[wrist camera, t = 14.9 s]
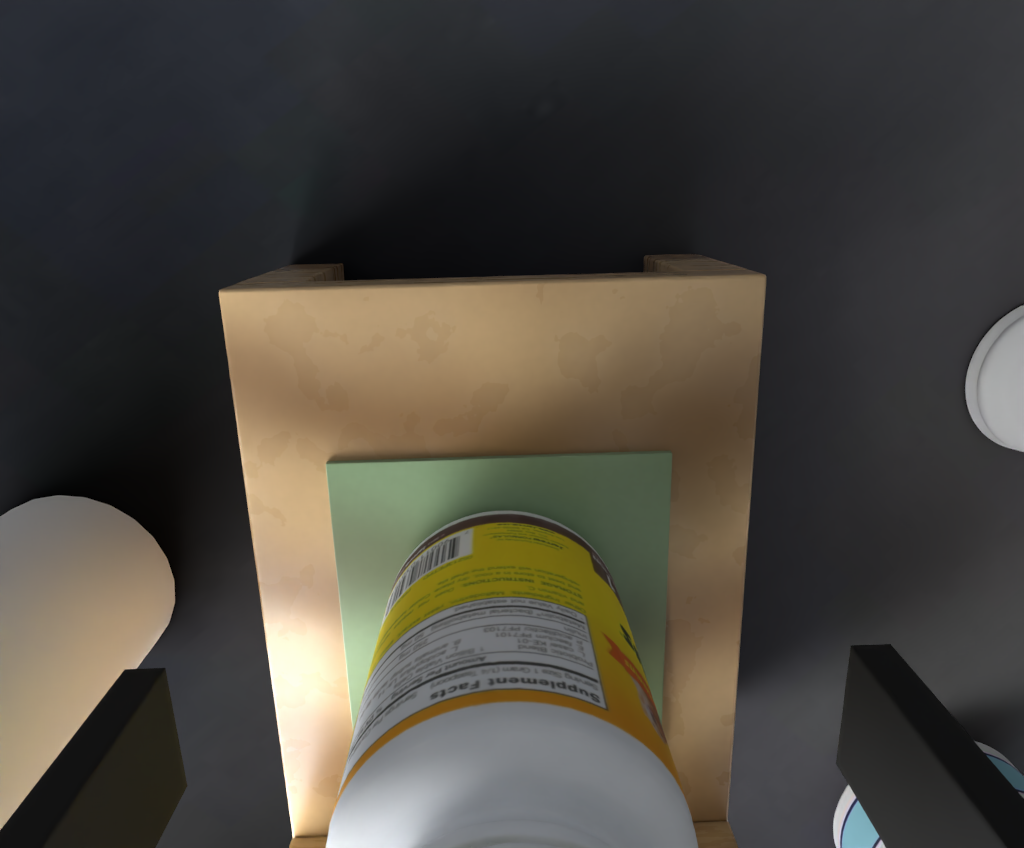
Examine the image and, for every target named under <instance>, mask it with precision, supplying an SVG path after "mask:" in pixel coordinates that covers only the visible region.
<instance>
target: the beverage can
mask: <svg viewBox="0 0 1024 848" xmlns="http://www.w3.org/2000/svg"><path fill="white" fill-rule="evenodd" d="M974 742H975V743H976V744H977V745H978V746H979V747H980V749H981V750H982V751H983V752H984V753H985V754H986V755H987V757H988V758H989V759H990V760H991V761H992V762H993V764H994V765H995V766H996V767H997V768H998V769H999V771H1000V772H1001V773H1002V774H1003V775H1004V776H1005V777H1006V779H1007V780H1008V781H1009V782H1010V783H1011V784H1012V786H1013V787H1014V788H1015V789H1016V790H1017V791H1018V792H1019V794H1020V795H1021V796H1022V797H1023V798H1024V776H1023V775H1022V774H1021V773H1020V772H1019V771H1018V770H1017V769H1016V768H1015V767H1014V765H1013V764H1012V763H1011V762H1010V761H1009V760H1008V759H1007V758H1006V757H1005V756H1003V755H1002V754H1001V753H999V752H998V751H996V750H995V749H993V748H991V747H989V746H987V745H985V744H982V743H979V742H977V741H974ZM833 835H834V841H835V846H836V848H886V847H885V845H884V844H883V842H882V840H881V838H880V837H879V835H878V833H877V832H876V830H875V828H874V827H873V825H872V823H871V822H870V820H869V818H868V816H867V815H866V813H865V811H864V810H863V808H862V806H861V805H860V803H859V801H858V800H857V798H856V796H855V794H854V793H853V791H852V789H851V788H850V786H849V784H848V786H847V787H846V789H845V790H844V792H843V794H842V796H841V798H840V800H839V802H838V805H837V808H836V811H835V816H834V822H833Z"/></svg>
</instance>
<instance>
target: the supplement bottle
mask: <svg viewBox="0 0 1024 848" xmlns="http://www.w3.org/2000/svg"><path fill="white" fill-rule="evenodd" d="M326 848H698V843H697V838H696V833H695V829H694V825H693V822H692V817H691V813H690V810H689V807H688V804H687V801H686V798H685V795H684V792H683V789H682V785H681V782H680V779H679V776H678V773H677V770H676V767H675V764H674V761H673V758H672V755H671V752H670V749H669V746H668V743H667V740H666V737H665V734H664V731H663V728H662V725H661V722H660V719H659V715H658V712H657V709H656V706H655V703H654V700H653V697H652V694H651V691H650V688H649V685H648V682H647V679H646V676H645V672H644V669H643V666H642V663H641V660H640V657H639V655H638V652H637V649H636V645H635V642H634V639H633V636H632V633H631V630H630V627H629V624H628V621H627V618H626V615H625V612H624V608H623V605H622V602H621V599H620V596H619V594H618V591H617V588H616V586H615V583H614V581H613V578H612V576H611V574H610V572H609V570H608V568H607V566H606V565H605V563H604V562H603V560H602V559H601V557H600V556H599V555H598V553H597V552H596V551H595V550H594V548H593V547H592V546H591V545H590V544H589V543H588V542H587V541H586V540H585V539H583V538H582V537H581V536H580V535H578V534H577V533H576V532H574V531H572V530H571V529H569V528H568V527H566V526H564V525H562V524H560V523H558V522H556V521H554V520H551V519H549V518H546V517H543V516H540V515H537V514H532V513H528V512H521V511H511V510H510V511H489V512H482V513H478V514H473V515H470V516H466V517H463V518H461V519H458V520H456V521H453V522H451V523H449V524H447V525H445V526H444V527H442V528H440V529H439V530H437V531H435V532H434V533H433V534H431V535H430V536H429V537H427V538H426V539H425V540H424V541H423V542H422V543H420V544H419V545H418V546H417V548H416V549H415V550H414V551H413V552H412V553H411V554H410V556H409V557H408V558H407V560H406V561H405V563H404V565H403V566H402V568H401V569H400V571H399V573H398V575H397V577H396V579H395V582H394V584H393V587H392V590H391V593H390V596H389V599H388V602H387V606H386V610H385V614H384V618H383V621H382V625H381V629H380V633H379V636H378V640H377V644H376V648H375V652H374V655H373V659H372V663H371V666H370V670H369V674H368V678H367V681H366V685H365V689H364V693H363V697H362V701H361V704H360V708H359V712H358V715H357V719H356V723H355V726H354V730H353V734H352V738H351V742H350V746H349V750H348V754H347V758H346V762H345V766H344V770H343V774H342V778H341V782H340V786H339V789H338V793H337V797H336V801H335V805H334V809H333V813H332V817H331V820H330V824H329V831H328V838H327V843H326Z"/></svg>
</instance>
